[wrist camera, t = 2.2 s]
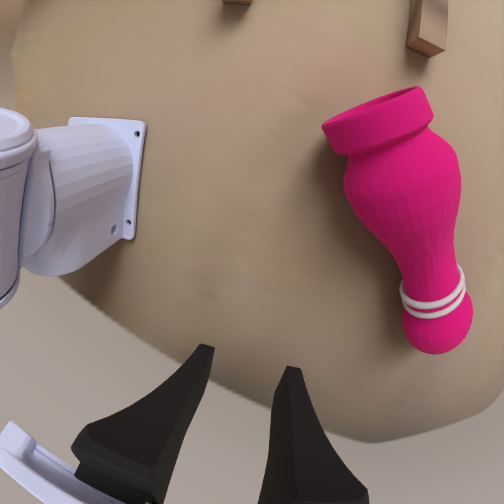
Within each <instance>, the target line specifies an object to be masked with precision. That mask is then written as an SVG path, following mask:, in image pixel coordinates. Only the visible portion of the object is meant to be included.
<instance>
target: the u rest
mask: <svg viewBox="0 0 504 504" xmlns="http://www.w3.org/2000/svg"><path fill="white" fill-rule="evenodd" d="M222 1H223V3H237V4H249V5H251V3H252V0H222ZM447 22H448V0H411V8H410V17H409V26H408V33H407V41H406V47H409V48H411V49H413V50H415V51H417V52H419V53H421V54H423V55H425V56H427V57H429V58H430V57H433V56H435V55H437V54H439V53H441V52H443V51H445V48H446V37H447Z"/></svg>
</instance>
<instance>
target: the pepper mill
mask: <svg viewBox="0 0 504 504" xmlns="http://www.w3.org/2000/svg"><path fill="white" fill-rule="evenodd" d="M433 116H434V115H433V112H432V110H431V107H430V105H429V103H428V100H427V98H426V96H425V93H424V91H423V89H422V88H421V87H419V86H416V87H410V88H406V89H403V90H400V91H396V92H393V93H390V94H387V95H384V96H382V97H379V98H376V99H374V100H371V101H368V102H366V103H364V104H361V105H359V106H356V107H354V108H352V109H349V110H347V111H345V112H343V113H341V114H339V115H337V116H335V117H333V118H331V119H329V120H328V121H326V122H325V123H323V124H322V130H323V131H324V133H325V135H326V137H327V139H328V141H329V143H330V145H331V147H332V149H333V151H334V152H335V153H337V154H340V155H347V156H348V163H347V166H346V170H345V174H344V178H343V191H344V194H345V196H346V198H347V200H348V201H349V203H350V205H351V207H352V209H353V211H354V213H355V214H356V215H357V217H358V218H359V219H360V221H361V222H362V223H363V224H364V226H365V227H366V228H367V229H368V230H369V231H370V232H371V233H372V234H373V235H374V236H375V237H376V238H377V239H378V240H379V241H380V242H381V243H382V244H383V245H384V246H385V247H386V248H387V249H388V250H389V252H390V253H391V255H392V256H393V258H394V259H395V261H396V262H397V265H398V267H399V270H400V272H401V275H402V281H401V283H400V289H399V290H400V295H401V298H402V303H403V306H404V308H403V312H402V326H403V331H404V333H405V336H406V338H407V339H408V341H409V342H410V343H411V345H412V346H413V347H415V348H416V349H418V350H419V351H421V352H424V353H428V354H442V353H445V352H448V351H450V350H452V349H454V348H455V347H457V346H458V345H459V344H460V343H461V342H462V341H463V339H464V338H465V337H466V335H467V333H468V331H469V329H470V326H471V323H472V317H473V308H472V302H471V299H470V297H469V295H468V293H467V292H466V291H465V283H464V273H463V271H462V269H461V267H460V266H459V265H457V264H456V260H455V253H454V243H453V241H454V227H455V221H456V216H457V212H458V207H459V202H460V194H461V176H460V170H459V165H458V159H457V156H456V154H455V151H454V150H453V148H452V147H451V146H450V145H449V144H448V143H447V142H446V141H445V140H444V139H442V138H441V137H439V136H438V135H437V134H435V133H434V132H432V131H431V130H430V129H429V127H428V126H427V125H428V124H429V123H430V122H431V121H432V119H433Z"/></svg>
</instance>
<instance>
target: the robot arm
mask: <svg viewBox="0 0 504 504" xmlns="http://www.w3.org/2000/svg"><path fill="white" fill-rule="evenodd" d="M138 131H139V132H140V136H139V137H138V136H137V132H138ZM145 132H146V124H145V123H144V122H143V121H137V120H125V119H110V118H89V117H72V118H70V119H69V122H68V126H60V127H51V128H43V129H36V130H35V128H34V127H33V126H32V125H31V124H30V122H29V120H28V119H27V118H26V117H24V116H23V115H21V114H19V113H17V112H15V111H12V110H8V109H4V108H0V309H1V308H3V307H4V306H5V305H6V304H7V303H8V302H9V301H10V300H11V299H12V298H13V296H14V294H15V293H16V291H17V288H18V285H19V281H20V269H21V268H22V267H23V266H24V267H25V268H26V269H27V270H28V271H30V272H31V273H33V274H37V275H41V276H60V275H64V274H68V273H71V272H73V271H76V270H78V269H80V268H81V267H83V266H84V265H86V264H87V263H88V262H90V261H91V260H92V259H94V258H95V257H96V256H98V255H99V254H100V253H102V252H103V251H104V250H106V249H107V248H108V247H110V246H111V245H113V244H114V243H115V242H117V241H118V240H120V239H121V238H124V239H128V240H131V239H132V238H134V236H135V227H136V211H137V198H138V187H139V177H140V168H141V160H142V152H143V145H144V138H145ZM128 220H130V221H131V224H129V222H128ZM214 349H215V347H212V346H208V345H205V344H199V345H198V347H197V348H196V350H195V351H194V352H193V353H192V355H191V356H190V357H189V358H188V359H187V360H186V362H185V363H184V364H183V365H182V366H181V367H180V368H179V369H178V370H177V371H176V372H175V373H174V374H173V375H171V376H170V377H169V378H168V379H167V380H166V381H165V382H163V383H162V384H161V385H160V386H159V387H157V388H156V389H155V390H153V391H152V392H151V393H149V394H148V395H146V396H145V397H143V398H142V399H140V400H139V401H137V402H135V403H134V404H133V405H131V406H129V407H127V408H125V409H123V410H121V411H119V412H117V413H115V414H113V415H110V416H108V417H106V418H103V419H100V420H98V421H95V422H92V423H89V424H87V425H86V426H85V427H84V428H83V429H82V431H81V432H80V433H79V434H78V436H77V438H76V439H75V441H74V442H73V444H72V446H71V450H72V452H73V453H74V455H75V456H76V457H77V459H78V460H79V461H80V464H79V466H78V468H77V469H76V468H74V467H72V466H70V465H69V464H67V463H66V462H64V461H62V460H60V459H59V458H58V457H56V456H55V455H53V454H51V453H50V452H49V451H47V450H46V449H44V448H43V447H41V446H40V445H39V444H37V443H36V441H35V440H34V438H33V437H31V435H29V434H28V433H27V432H26V431H25V430H23V429H22V428H21V427H19V426H18V425H17V424H16V423H14V422H13V421H12V420H10V421H9V423H8V424H7V425H6V427H5V428H4V430H3V431H2V433H1V434H0V467H1V468H2V469H3V470H4V471H5V472H6V473H8V474H9V475H10V476H11V477H12V478H13V479H15V480H16V481H17V482H18V483H20V484H21V485H22V486H23V487H24V488H25V489H27V490H28V491H29V492H31V493H32V494H33V495H34V496H36V497H37V498H38V499H40V500H41V501H42V502H44V503H45V504H163V503H164V499H165V496H166V492H167V489H168V486H169V482H170V479H171V476H172V473H173V470H174V466H175V464H176V460H177V457H178V454H179V451H180V448H181V445H182V442H183V439H184V437H185V434H186V431H187V429H188V427H189V425H190V423H191V421H192V418H193V416H194V414H195V412H196V410H197V408H198V405H199V403H200V401H201V399H202V396H203V394H204V391H205V388H206V385H207V382H208V379H209V376H210V370H211V365H212V360H213V355H214ZM258 504H369V495H368V490H367V488H366V487H365V486H364V485H363V484H362V483H361V482H360V481H358V479H357V478H356V477H355V476H354V475H353V474H352V473H351V471H350V470H349V469H348V468H347V467H346V465H345V464H344V463H343V461H342V460H341V459H340V457H339V456H338V454H337V453H336V451H335V450H334V448H333V447H332V445H331V444H330V442H329V440H328V438H327V436H326V435H325V433H324V431H323V429H322V427H321V425H320V422H319V420H318V418H317V416H316V413H315V411H314V408H313V406H312V403H311V400H310V397H309V395H308V391H307V388H306V385H305V382H304V378H303V374H302V370H301V369H300V368H297V367H292V366H287V367H286V369H285V371H284V373H283V376H282V378H281V380H280V382H279V384H278V386H277V388H276V390H275V394H274V399H273V405H272V410H271V425H270V439H269V452H268V460H267V465H266V470H265V475H264V479H263V484H262V489H261V492H260V496H259V500H258Z"/></svg>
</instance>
